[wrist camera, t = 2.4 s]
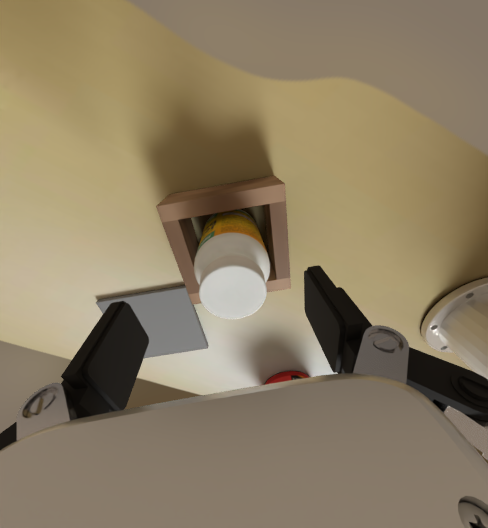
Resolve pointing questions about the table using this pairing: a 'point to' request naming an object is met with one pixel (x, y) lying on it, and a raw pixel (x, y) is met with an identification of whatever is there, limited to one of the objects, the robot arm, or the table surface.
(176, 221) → the sleeve holder
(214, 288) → the supplement bottle
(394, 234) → the table surface
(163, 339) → the rubber mat
